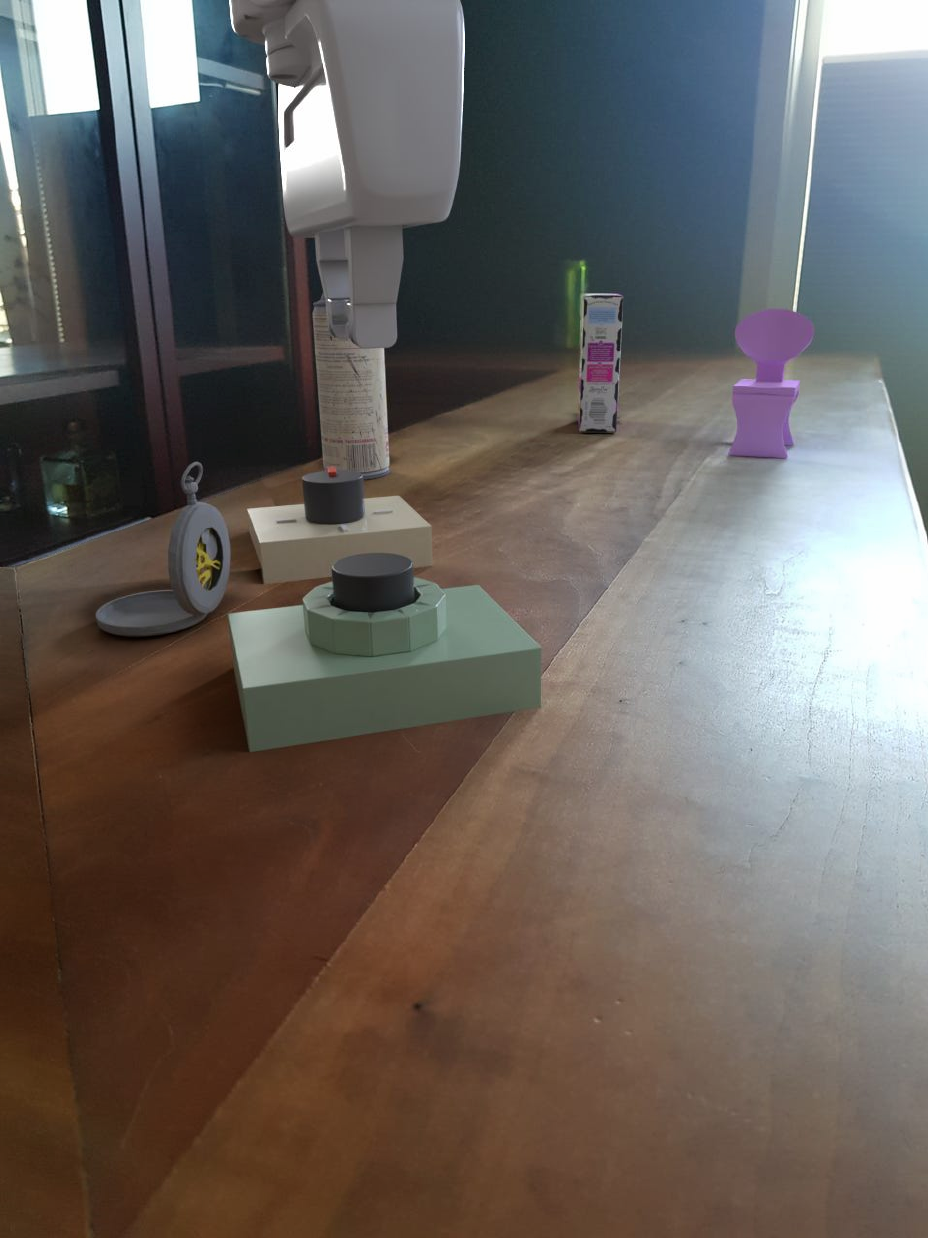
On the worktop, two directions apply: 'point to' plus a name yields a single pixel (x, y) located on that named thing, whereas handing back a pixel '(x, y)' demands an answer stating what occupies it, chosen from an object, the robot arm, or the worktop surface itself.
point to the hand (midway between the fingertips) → (360, 342)
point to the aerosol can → (350, 402)
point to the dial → (333, 496)
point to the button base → (379, 665)
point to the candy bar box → (599, 362)
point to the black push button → (373, 582)
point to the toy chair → (768, 381)
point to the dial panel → (335, 538)
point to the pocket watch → (179, 575)
